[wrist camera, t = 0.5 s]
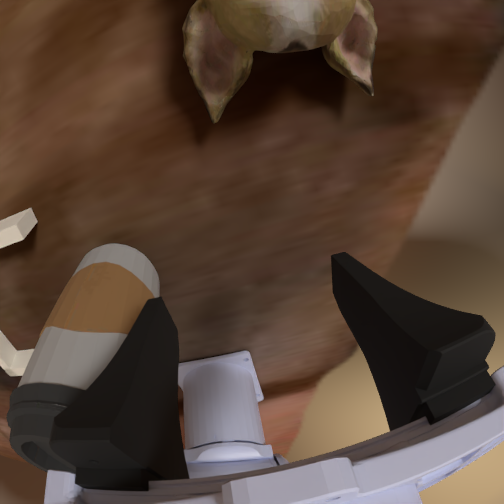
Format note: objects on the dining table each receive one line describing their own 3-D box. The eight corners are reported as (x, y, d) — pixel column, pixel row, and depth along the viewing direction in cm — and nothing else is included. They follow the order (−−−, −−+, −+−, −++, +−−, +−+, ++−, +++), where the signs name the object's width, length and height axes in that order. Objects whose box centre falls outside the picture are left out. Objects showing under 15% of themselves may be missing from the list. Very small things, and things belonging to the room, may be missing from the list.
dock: (110, 347, 27) (106, 367, 25) (16, 358, 27) (10, 376, 25) (31, 207, 19) (16, 224, 17) (-60, 249, 18) (-73, 265, 16)
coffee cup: (79, 312, 24) (38, 477, 12) (62, 225, 20) (-32, 409, 7) (173, 318, 26) (173, 496, 14) (173, 230, 22) (159, 446, 9)
